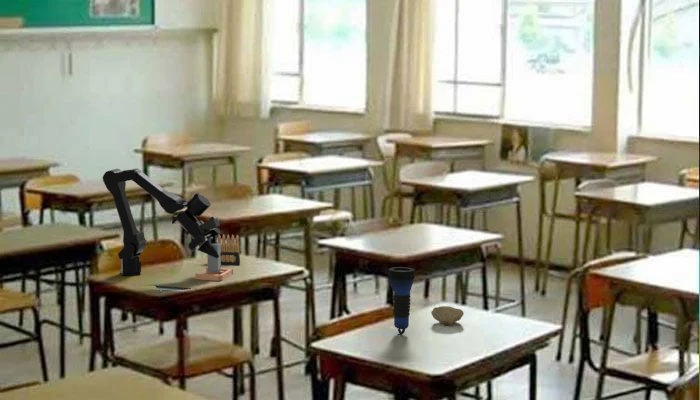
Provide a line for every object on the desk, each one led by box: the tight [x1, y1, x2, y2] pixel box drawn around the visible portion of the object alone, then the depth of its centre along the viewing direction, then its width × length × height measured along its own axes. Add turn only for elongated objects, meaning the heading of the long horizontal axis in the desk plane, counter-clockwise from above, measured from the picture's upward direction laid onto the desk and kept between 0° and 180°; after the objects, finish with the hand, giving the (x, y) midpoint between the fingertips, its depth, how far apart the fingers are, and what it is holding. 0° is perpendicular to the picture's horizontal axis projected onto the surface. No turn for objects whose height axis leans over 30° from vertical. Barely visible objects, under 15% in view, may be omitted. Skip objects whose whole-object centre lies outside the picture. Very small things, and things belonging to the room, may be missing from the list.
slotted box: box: [194, 266, 234, 282], centre depth 423 cm, size 10×12×3 cm
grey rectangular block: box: [207, 243, 222, 272], centre depth 422 cm, size 4×3×10 cm
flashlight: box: [387, 266, 416, 335], centre depth 350 cm, size 8×8×20 cm
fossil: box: [430, 305, 465, 326], centre depth 362 cm, size 9×4×10 cm
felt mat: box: [155, 285, 192, 292], centre depth 409 cm, size 11×9×1 cm
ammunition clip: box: [217, 233, 241, 266], centre depth 449 cm, size 11×2×12 cm, turn 84°
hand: (220, 256), depth 421 cm, fingers closed on grey rectangular block, 3 cm apart
